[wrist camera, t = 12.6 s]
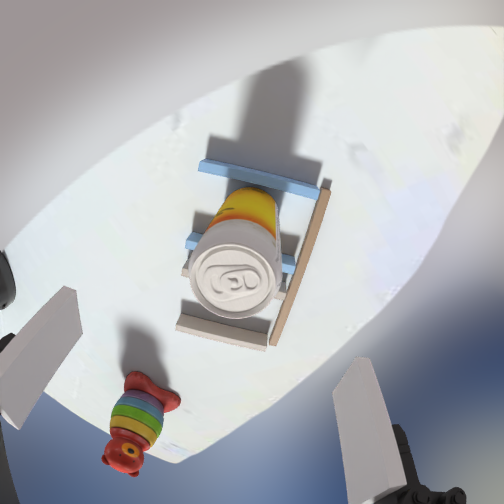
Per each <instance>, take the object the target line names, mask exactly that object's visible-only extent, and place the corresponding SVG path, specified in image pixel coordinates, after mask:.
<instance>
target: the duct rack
mask: <svg viewBox="0 0 504 504" xmlns="http://www.w3.org/2000/svg"><path fill="white" fill-rule="evenodd" d="M198 171H200V172H205V173H209V174H214V175H219V176H223V177H228V178H232V179H237V180H241V181H245V182H249V183H253V184H258V185H262V186H266V187H270V188H274V189H277V190H281V191H285V192H289V193H293V194H296V195H300V196H304V197H307V198H311V199H314V200H317V201H316V205H315V208H314V211H313V214H312V217H311V221H310V224H309V227H308V230H307V233H306V236H305V239H304V242H303V245H302V248H301V251H300V254H299V257H298V260H297V263H296V265H295V258H294V256H290V255H286V254H282V253H281V257H282V272H284V273H289V274H293V275H292V278H291V281H290V284H289V287H288V290H287V292H286V282H283V281H282V283H281V286H280V289H279V291H278V293H277V294H276V296H275V297H274V298H275V299H279V300H284V301H283V304H282V306H281V309H280V312H279V315H278V317H277V320H276V323H275V326H274V328H273V331H272V334H271V336H270V339H269V345H272V346H276V345H277V343H278V340H279V338H280V335H281V333H282V330H283V328H284V325H285V323H286V320H287V318H288V315H289V312H290V310H291V307H292V305H293V302H294V299H295V297H296V294H297V291H298V289H299V286H300V283H301V280H302V278H303V275H304V272H305V269H306V266H307V264H308V261H309V258H310V255H311V252H312V249H313V246H314V244H315V241H316V238H317V235H318V232H319V229H320V226H321V223H322V220H323V217H324V214H325V210H326V207H327V204H328V201H329V198H330V195H331V191H330V190H329V189H325V188H322V187H321V188H320V190H319V189H318V187H317V186H315V185H312V184H308V183H305V182H301V181H297V180H294V179H290V178H286V177H282V176H279V175H275V174H271V173H267V172H263V171H259V170H255V169H250V168H246V167H242V166H237V165H233V164H228V163H224V162H219V161H214V160H210V159H204V160H202V161H200V163H199V168H198ZM202 236H203V234H200V233H195V232H192V233H191V234H190V235H189V237H188V238H187V240H186V245H185V248H186V249H190V250H194V249H195V247H196V246H197V244H198V242H199V241H200V239H201V238H202ZM189 260H190V259H188V260H187V261H186V263H185V264H184V266H183V268H182V274H181V276H185V277H189V272H188V266H189ZM175 330H177V331H180V332H184V333H188V334H191V335H195V336H199V337H203V338H207V339H211V340H215V341H219V342H223V343H227V344H231V345H236V346H240V347H245V348H249V349H254V350H259V351H264V352H265V350H266V348H267V334H264V333H260V332H255V331H251V330H246V329H242V328H237V327H233V326H229V325H225V324H221V323H216V322H212V321H209V320H205V319H201V318H197V317H193V316H189V315H186V314H182V313H181V315H180V317H179V319H178V321H177V323H176V329H175Z"/></svg>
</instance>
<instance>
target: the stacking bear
mask: <svg viewBox="0 0 504 504" xmlns="http://www.w3.org/2000/svg"><path fill="white" fill-rule="evenodd" d="M124 392H125V393H124V394H123V395H122V396H121V398H120V399H119V400H118V401H117V403H116V404H115V406H114V408H113V411H112V414H111V421H110V434H111V437H112V438H113V439H112V440H110V441H109V443H108V444H107V445H106V447H105V451H104V455H103V456H102V458H101V459H102V462H103V463H104V464H106V465H111V466H112V467H113V468H114V469H116V470H118V471H120V472H124V473H128V474H129V475H130V476H132V477H137V476H138V475H139V469H140V468H141V467H142V465H143V462H144V455H143V451H147V450H148V449H150V447H152V446H153V445H154V443H155V441H156V440H157V438H158V437H159V435H160V433H161V431H162V427H163V421H164V418H163V416H164V413H166V412H169V411H172V410H174V409H176V408H177V407H178V406H179V405H180V403H181V401H180V398H179V397H178V396H177V395H175V394H174V393H172V392H169V391H165V390H163V389H161V388H159V387H157V386H156V385H154V384H153V383H152V381H151V380H150V379H149V378H148V377H147V376H146V375H144V374H143V373H141V372H131V373H130V374H129V375H128V376H127V378H126V380H125V383H124Z"/></svg>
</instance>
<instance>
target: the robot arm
mask: <svg viewBox="0 0 504 504" xmlns="http://www.w3.org/2000/svg"><path fill="white" fill-rule="evenodd" d="M14 299H15V284H14V280H13V276H12V273H11V271H10V268H9V266H8V264H7V261H6V259H5V258H4V256H3V254H2V253H1V251H0V310H2V309H5V308H6V307H8V306H9V305H10V304H11V303H12V302H13V301H14ZM82 334H83V332H82V326H81V321H80V314H79V308H78V301H77V293H76V290H74V289H71V288H69V287H66V286H63V287H62V288H61V289H60V290H59V291H58V292H57V293H56V294H55V295H54V296H53V297H52V298H51V299H50V300H49V301H48V302H47V303H46V304H45V305H44V306H43V307H42V308H41V309H40V310H39V311H38V312H37V313H36V314H35V315H34V316H33V317H32V318H31V319H30V320H29V322H28V323H27V324H26V325H25V326H24V327H23V328H22V329H21V330H20V331H19V332H18V334H17V335H15V334H13V333H10V334H8V335H6V336H4V337H3V338H2V339H1V340H0V415H2V416H3V417H4V419H5V420H6V421H7V422H8V423H10V424H11V425H12V426H14V427H15V428H17V429H18V430H20V428H21V427H22V425H23V423H24V421H25V420H26V418H27V416H28V415H29V413H30V411H31V409H32V408H33V406H34V405H35V403H36V402H37V400H38V398H39V397H40V395H41V394H42V392H43V390H44V389H45V387H46V386H47V384H48V383H49V381H50V380H51V378H52V377H53V375H54V374H55V372H56V371H57V369H58V368H59V366H60V365H61V363H62V362H63V361H64V359H65V358H66V356H67V355H68V353H69V352H70V351H71V349H72V348H73V346H74V345H75V344H76V342H77V341H78V340H79V338H80V337H81V335H82ZM332 395H333V400H334V406H335V412H336V418H337V424H338V430H339V436H340V443H341V449H342V456H343V463H344V470H345V478H346V486H347V494H348V503H349V504H373V503H374V504H466V494H465V492H464V491H463V490H462V489H461V488H459V487H454V488H452V489H450V490H449V491H447V492H433V491H430V490H429V489H428V488H427V487H426V486H425V485H421V484H420V482H419V480H418V476H417V472H416V469H415V465H414V461H413V458H412V454H411V453H410V448H409V445H408V440H407V437H406V434H405V432H404V431H403V430H402V428H401V427H400V425H399V424H394V425H391V422H390V418H389V415H388V412H387V409H386V405H385V402H384V399H383V396H382V394H381V390H380V387H379V384H378V381H377V378H376V375H375V372H374V369H373V366H372V363H371V360H370V358H362V357H355V359H354V361H353V362H352V364H351V365H350V367H349V368H348V370H347V371H346V373H345V375H344V376H343V378H342V379H341V381H340V382H339V383H338V385H337V386H336V388H335V389H334V391H333V392H332ZM0 504H20V503H19V500H18V497H17V493H16V490H15V487H14V484H13V480H12V477H11V473H10V469H9V465H8V460H7V456H6V451H5V446H4V440H3V435H2V429H1V422H0Z"/></svg>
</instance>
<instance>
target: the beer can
mask: <svg viewBox="0 0 504 504" xmlns="http://www.w3.org/2000/svg"><path fill="white" fill-rule="evenodd" d="M188 272H189V278H190V285H191V288H192V291H193V294H194V295H195V297H196V299H197V300H198V301H199V302H200V304H201V305H202V306H203V307H205V308H206V309H207V310H209V311H210V312H212V313H214V314H216V315H218V316H221V317H225V318H231V319H241V318H247V317H251V316H253V315H256V314H258V313H259V312H261V311H262V310H264V309H265V308H266V307H267V306H268V305H269V303H270V302H271V301H272V300H273V298H274V297H275V296H276V294H277V293H278V291H279V289H280V286H281V283H282V257H281V240H280V224H279V211H278V207H277V204H276V202H275V200H274V199H273V198H272V197H271V196H270V195H269V194H268V193H267V192H265V191H264V190H261V189H259V188H255V187H245V188H241V189H238V190H236V191H234V192H233V193H231V194H230V195H229V196H228V197H227V199H226V200H225V202H224V203H223V205H222V206H221V208H220V209H219V211H218V212H217V214H216V215H215V217H214V219H213V220H212V222H211V223H210V225H209V226H208V228H207V230H206V231H205V233H204V234H203V236H202V238H201V239H200V241H199V242H198V244H197V246H196V247H195V249H194V250H193V252H192V254H191V257H190V260H189V266H188Z"/></svg>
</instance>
